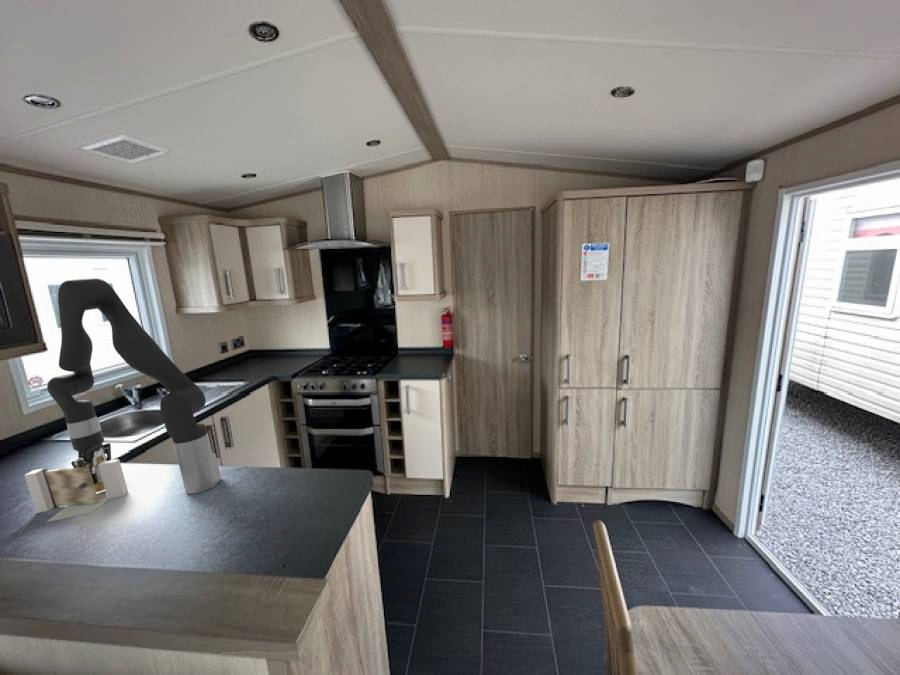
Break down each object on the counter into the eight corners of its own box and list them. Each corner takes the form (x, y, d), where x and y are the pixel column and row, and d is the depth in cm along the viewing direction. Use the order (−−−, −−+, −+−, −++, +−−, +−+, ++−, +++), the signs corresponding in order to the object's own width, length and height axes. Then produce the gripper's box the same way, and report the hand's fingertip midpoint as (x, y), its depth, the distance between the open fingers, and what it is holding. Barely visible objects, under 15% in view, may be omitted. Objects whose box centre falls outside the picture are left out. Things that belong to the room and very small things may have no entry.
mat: (110, 498, 121) (110, 497, 121) (92, 513, 113) (92, 512, 113) (68, 506, 119) (68, 505, 118) (46, 522, 111) (46, 521, 111)
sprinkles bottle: (113, 483, 128) (103, 447, 126) (106, 490, 124) (95, 453, 121) (97, 487, 127) (86, 450, 124) (89, 494, 122) (78, 456, 120)
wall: (128, 492, 123) (119, 459, 121) (124, 495, 121) (114, 461, 119) (112, 495, 122) (102, 461, 120) (107, 499, 120) (97, 464, 118)
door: (99, 502, 119) (88, 464, 117) (91, 506, 116) (80, 468, 114) (56, 506, 119) (45, 468, 117) (48, 510, 117) (36, 472, 115)
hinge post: (55, 505, 120) (44, 468, 118) (47, 511, 117) (35, 473, 115) (44, 507, 120) (33, 470, 117) (36, 513, 117) (24, 475, 114)
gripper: (81, 439, 115) (96, 489, 118) (113, 422, 129) (126, 467, 132) (53, 443, 114) (69, 494, 117) (89, 425, 128) (102, 471, 131)
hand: (99, 479), depth 125 cm, fingers closed on sprinkles bottle, 4 cm apart
